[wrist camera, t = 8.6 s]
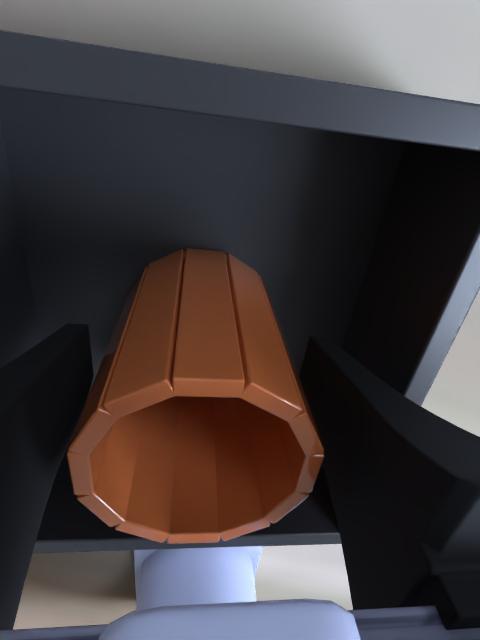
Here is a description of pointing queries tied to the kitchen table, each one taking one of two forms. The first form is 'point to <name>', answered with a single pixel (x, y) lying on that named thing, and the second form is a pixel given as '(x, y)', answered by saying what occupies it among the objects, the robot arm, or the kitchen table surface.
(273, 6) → the kitchen table surface
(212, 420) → the cup
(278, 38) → the kitchen table surface
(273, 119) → the sink
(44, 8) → the kitchen table surface
